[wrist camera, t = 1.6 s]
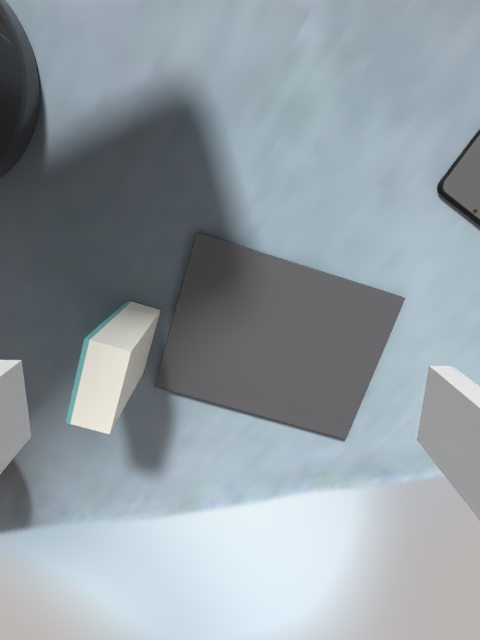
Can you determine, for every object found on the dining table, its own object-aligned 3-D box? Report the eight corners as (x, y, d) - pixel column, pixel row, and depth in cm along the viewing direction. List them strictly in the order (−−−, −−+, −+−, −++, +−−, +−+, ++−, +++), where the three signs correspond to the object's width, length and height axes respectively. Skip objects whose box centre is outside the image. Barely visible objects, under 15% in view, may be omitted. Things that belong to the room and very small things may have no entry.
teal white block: (112, 362, 34) (65, 422, 25) (127, 300, 33) (84, 338, 23) (144, 371, 35) (109, 434, 25) (160, 310, 33) (131, 351, 24)
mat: (155, 383, 35) (154, 386, 34) (197, 232, 32) (196, 232, 31) (344, 435, 36) (345, 439, 36) (402, 296, 33) (405, 298, 33)
